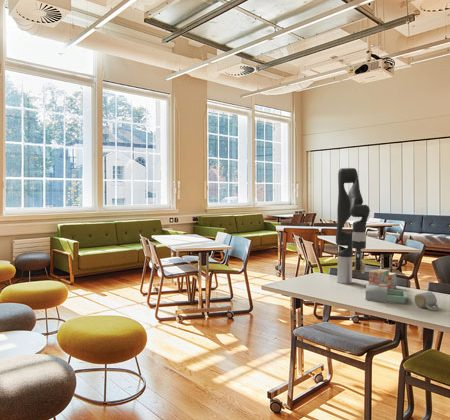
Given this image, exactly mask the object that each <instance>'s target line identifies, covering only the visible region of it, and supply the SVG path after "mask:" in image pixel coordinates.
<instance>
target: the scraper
mask: <svg viewBox="0 0 450 420" xmlns="http://www.w3.org/2000/svg"><path fill="white" fill-rule="evenodd" d="M353 267H354V269H353V270H354V272H357V271H356V260H354V265H353ZM365 271H366V261H362V260H361V264H360V271H359V272H361V274H365Z"/></svg>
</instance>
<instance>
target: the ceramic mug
mask: <svg viewBox="0 0 450 420" xmlns="http://www.w3.org/2000/svg"><path fill="white" fill-rule="evenodd" d="M413 301H414V303H415V305H416V306H417V307H418V308H420V309H421V308H422V309H425V308H427V309H428V310H431V311H437V310H438V309H439V305H438V304H437V301H438V299H437V297H436V295H435V293H433V292H431V291H425V292H419V293H417V294H416V295H415V296H414V300H413Z"/></svg>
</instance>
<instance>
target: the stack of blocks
mask: <svg viewBox="0 0 450 420" xmlns="http://www.w3.org/2000/svg"><path fill="white" fill-rule="evenodd" d="M379 284H386V286H387V289H393V290H395V289H396V288H397V273H396V272H390V270H389V269H382V268H378V269H372V270H369V271H368V285H377V286H379Z"/></svg>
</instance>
